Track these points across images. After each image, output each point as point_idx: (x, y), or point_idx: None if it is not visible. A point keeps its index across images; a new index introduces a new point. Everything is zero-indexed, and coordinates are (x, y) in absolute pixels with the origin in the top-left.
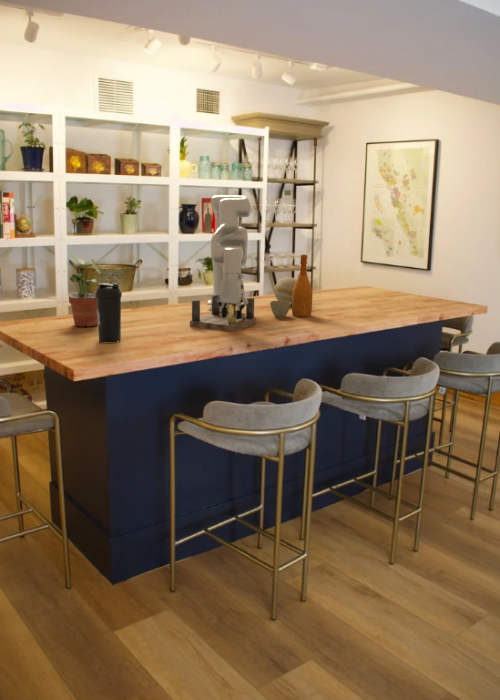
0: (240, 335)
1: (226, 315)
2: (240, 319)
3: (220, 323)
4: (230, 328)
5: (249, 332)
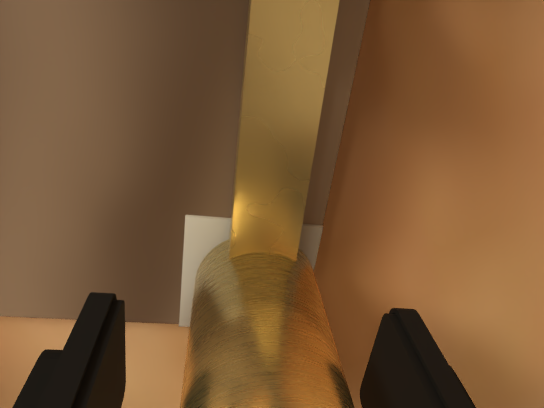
0: None
1: (119, 332)
2: (327, 67)
3: (62, 265)
4: None
5: (467, 238)
